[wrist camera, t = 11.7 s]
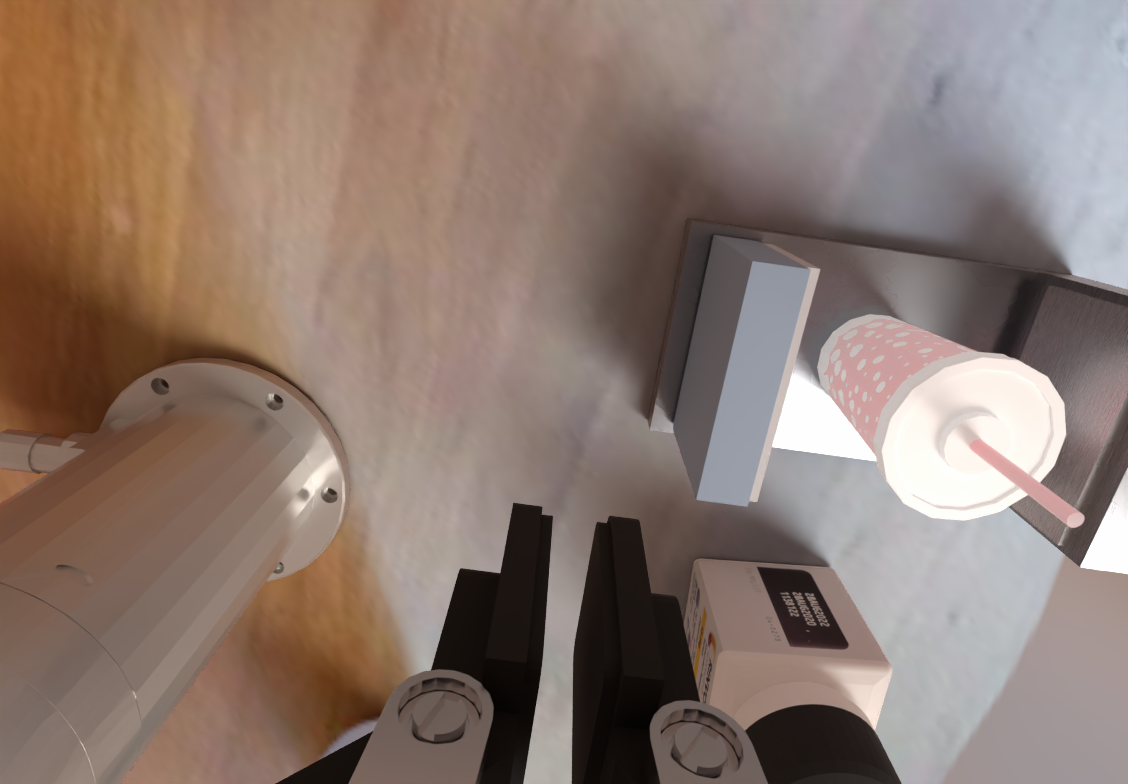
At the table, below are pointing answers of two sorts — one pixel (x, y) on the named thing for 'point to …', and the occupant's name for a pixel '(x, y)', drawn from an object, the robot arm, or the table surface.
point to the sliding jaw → (740, 365)
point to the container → (790, 669)
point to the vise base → (965, 316)
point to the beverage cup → (947, 418)
